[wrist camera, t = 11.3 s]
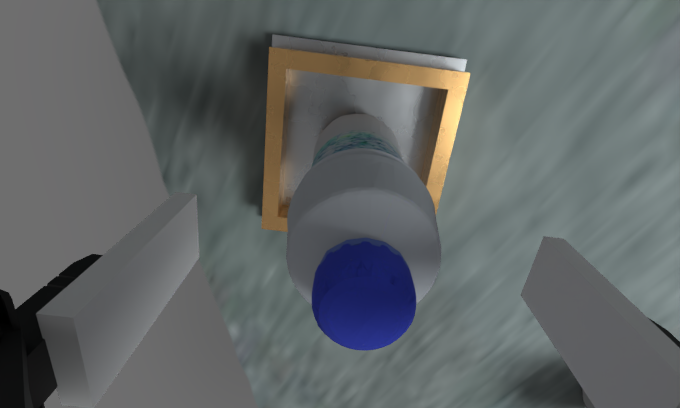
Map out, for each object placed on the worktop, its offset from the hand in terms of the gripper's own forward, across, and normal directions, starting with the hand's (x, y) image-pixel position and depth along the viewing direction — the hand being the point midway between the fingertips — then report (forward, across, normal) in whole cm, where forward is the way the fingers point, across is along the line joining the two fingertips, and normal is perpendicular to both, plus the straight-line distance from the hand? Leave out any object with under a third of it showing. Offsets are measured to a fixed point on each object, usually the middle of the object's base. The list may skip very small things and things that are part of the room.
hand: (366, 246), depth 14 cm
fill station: (+17, 0, -1) cm, 17 cm away
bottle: (+16, 0, -1) cm, 16 cm away
